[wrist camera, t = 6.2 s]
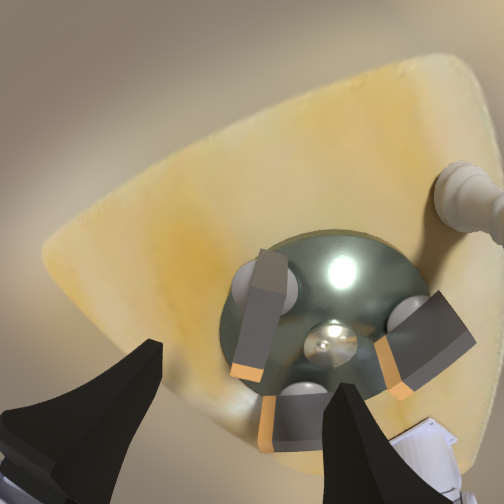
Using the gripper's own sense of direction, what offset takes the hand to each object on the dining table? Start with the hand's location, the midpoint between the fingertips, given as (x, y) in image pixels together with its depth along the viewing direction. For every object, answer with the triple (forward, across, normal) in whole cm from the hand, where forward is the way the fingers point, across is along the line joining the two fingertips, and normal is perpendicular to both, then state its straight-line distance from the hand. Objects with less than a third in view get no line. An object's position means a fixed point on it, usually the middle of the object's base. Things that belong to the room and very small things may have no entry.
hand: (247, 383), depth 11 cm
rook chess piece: (+9, -11, -9) cm, 17 cm away
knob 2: (+8, -5, +9) cm, 13 cm away
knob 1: (+8, 0, 0) cm, 8 cm away
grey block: (+8, -10, 0) cm, 13 cm away
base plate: (+9, -5, +3) cm, 11 cm away
